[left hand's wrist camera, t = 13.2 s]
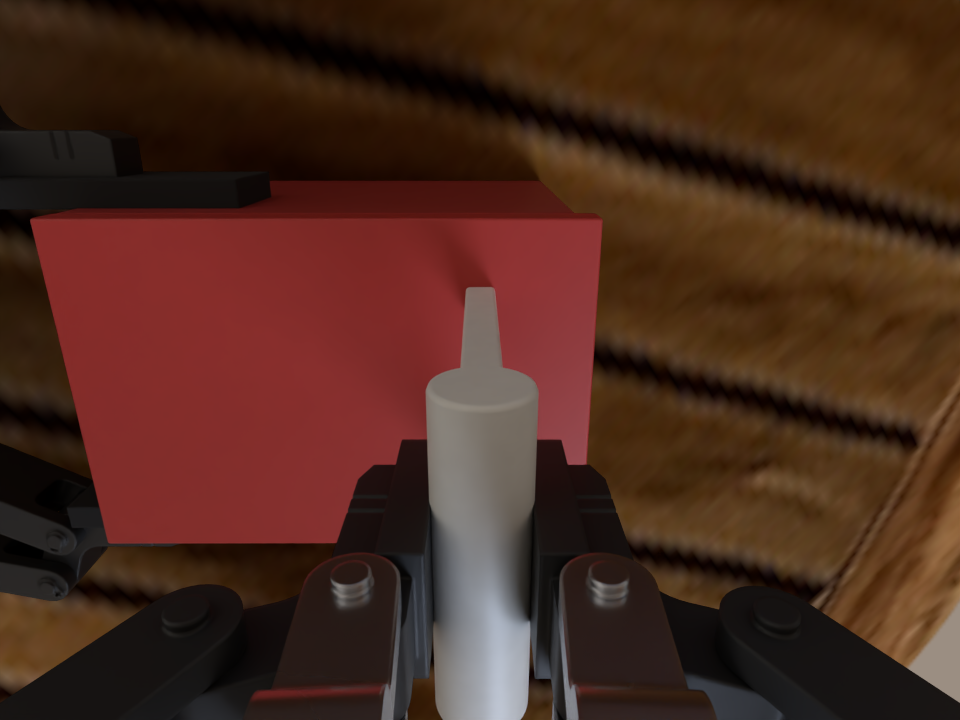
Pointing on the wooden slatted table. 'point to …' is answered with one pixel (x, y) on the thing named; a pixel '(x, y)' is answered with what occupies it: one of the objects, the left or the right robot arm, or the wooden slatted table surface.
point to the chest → (382, 199)
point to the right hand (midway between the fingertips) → (274, 354)
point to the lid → (336, 389)
